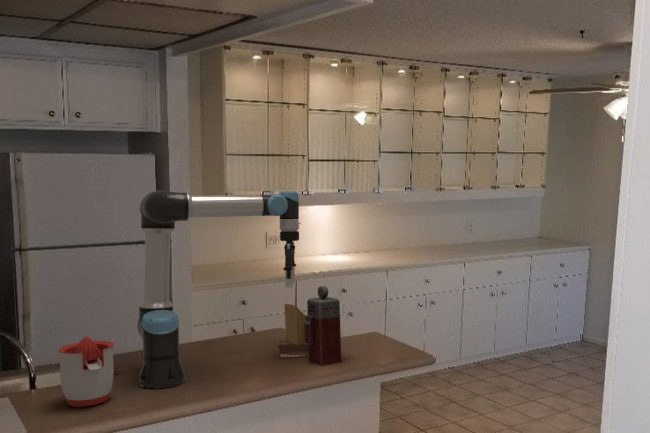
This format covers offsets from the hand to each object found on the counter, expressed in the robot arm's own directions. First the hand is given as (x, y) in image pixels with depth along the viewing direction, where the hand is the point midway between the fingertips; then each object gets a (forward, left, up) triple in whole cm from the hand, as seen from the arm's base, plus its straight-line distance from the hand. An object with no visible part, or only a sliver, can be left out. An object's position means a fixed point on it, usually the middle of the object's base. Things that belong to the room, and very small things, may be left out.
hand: (290, 285), depth 231 cm
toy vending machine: (-12, -12, -28) cm, 32 cm away
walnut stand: (+2, -4, -27) cm, 28 cm away
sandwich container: (+3, -6, -23) cm, 24 cm away
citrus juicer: (-51, +59, -28) cm, 83 cm away
